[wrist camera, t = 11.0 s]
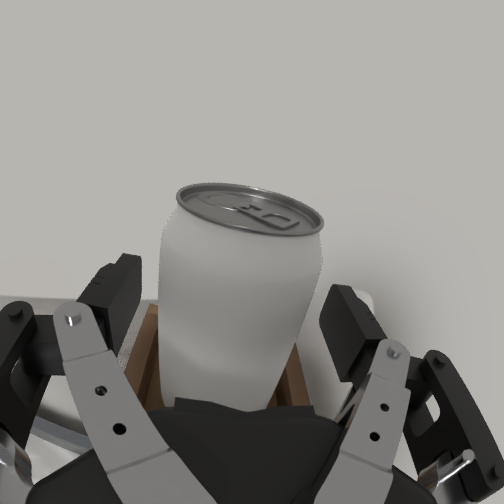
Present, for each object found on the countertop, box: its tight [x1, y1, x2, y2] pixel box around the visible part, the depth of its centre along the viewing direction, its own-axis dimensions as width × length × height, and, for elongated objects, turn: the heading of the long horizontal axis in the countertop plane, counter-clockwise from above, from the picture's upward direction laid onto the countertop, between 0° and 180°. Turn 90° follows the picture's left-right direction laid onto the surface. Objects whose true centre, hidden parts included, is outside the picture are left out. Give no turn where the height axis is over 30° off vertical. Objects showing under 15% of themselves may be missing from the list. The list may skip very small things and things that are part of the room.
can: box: [158, 183, 324, 412], centre depth 13 cm, size 6×6×12 cm
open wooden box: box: [124, 304, 310, 412], centre depth 15 cm, size 10×10×3 cm
